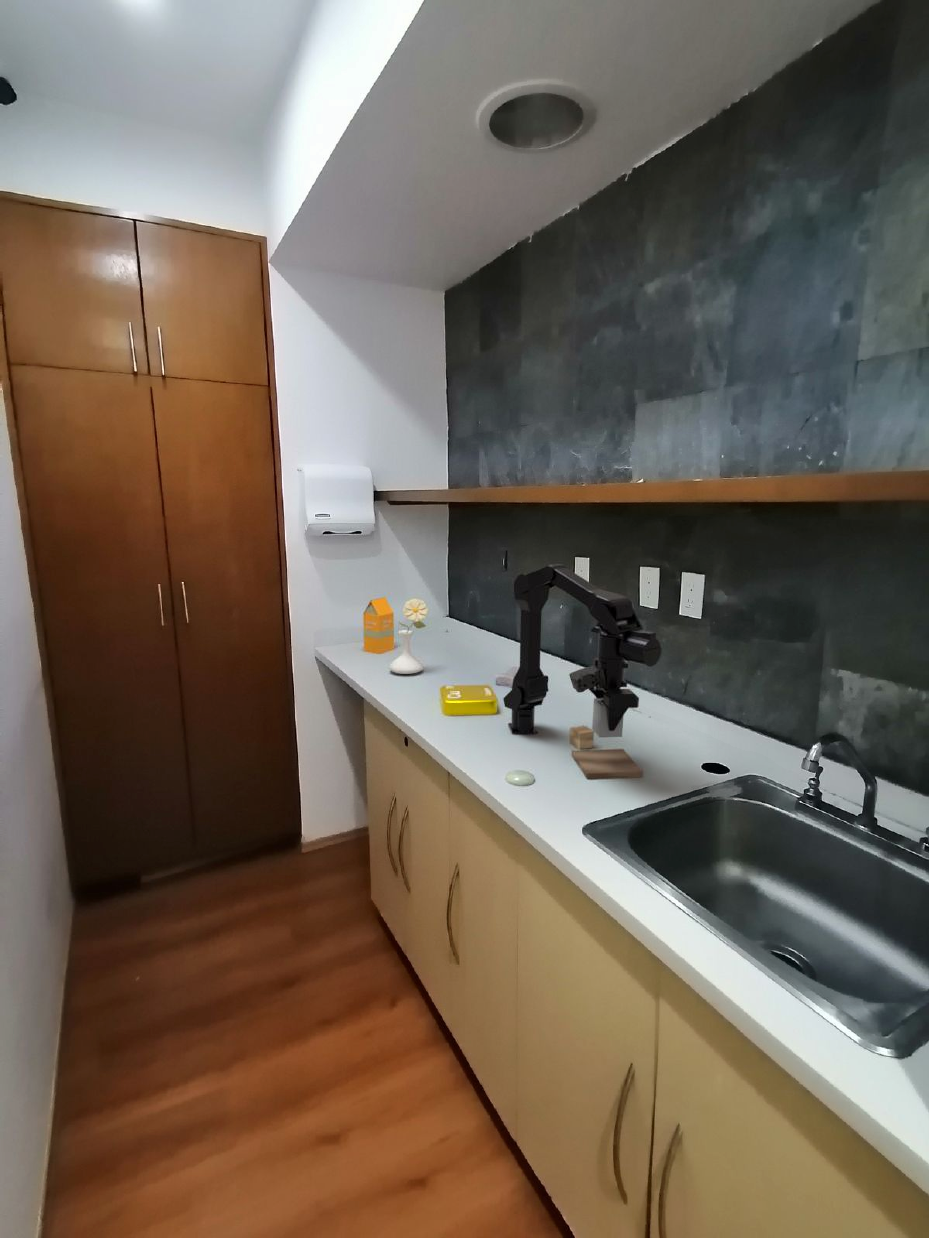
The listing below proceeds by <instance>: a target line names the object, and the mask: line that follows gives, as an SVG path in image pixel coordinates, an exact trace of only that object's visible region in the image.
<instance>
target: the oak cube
mask: <svg viewBox="0 0 929 1238" xmlns="http://www.w3.org/2000/svg"><path fill="white" fill-rule="evenodd" d="M594 739H595V732H594V730H593V729H592V728H590V727H587V726H585V725H580V726H574V727H569V743H568V744H570V745H571V746H573V747H574V748H576V749H577V750H585V749H589V748H594V742H595V741H594Z"/></svg>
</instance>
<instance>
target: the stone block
mask: <svg viewBox="0 0 929 1238" xmlns="http://www.w3.org/2000/svg"><path fill="white" fill-rule="evenodd" d="M519 667H520V666H512V667H510V668H508V669H506V670H505V671H504V672H497V673H496V675H495V683H496V685H497V686H501V687H507V688H509V689H512V685H513V678H514V677H515V675H516V673H517V671H518V669H519Z"/></svg>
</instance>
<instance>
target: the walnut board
mask: <svg viewBox="0 0 929 1238" xmlns="http://www.w3.org/2000/svg"><path fill="white" fill-rule="evenodd" d="M571 757H572V758H573V760H574V762H575V763H576V765H577V766H578V768H579V769H580V771H581V772H582V774H583V775H584V777H585V778H586V779H587V780H589V779H590V780H593V779H617V778H619V779H621V778H624V779H625V778H642V777H643V774H644V771H643V770H642V769H641V767H640V766H639V765H638V764H637V763H636V762H635V761H634V760H633V759H632V757H631V756H630V755H629V754H628V753H627V752H626V751H625V749H624V748H620V749H619V748H613V749H611V748H609V749H608V748H607V749H576V750H571Z"/></svg>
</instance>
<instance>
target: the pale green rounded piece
mask: <svg viewBox="0 0 929 1238" xmlns="http://www.w3.org/2000/svg"><path fill="white" fill-rule="evenodd" d="M504 776H505V777H504V780H505V782H506V783H508V784H510V785H512V786H518V787H519V786H520V787H525V786H526V787H527V786H529V785H532V784H533V783H534V782H535V775H534V774H533V773H532V772H530V771H527V770H521V769H520V770H519V769H518V770H517V769H516V770H514V769H513V770H511V771H508V772H506V773H505V775H504Z"/></svg>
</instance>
